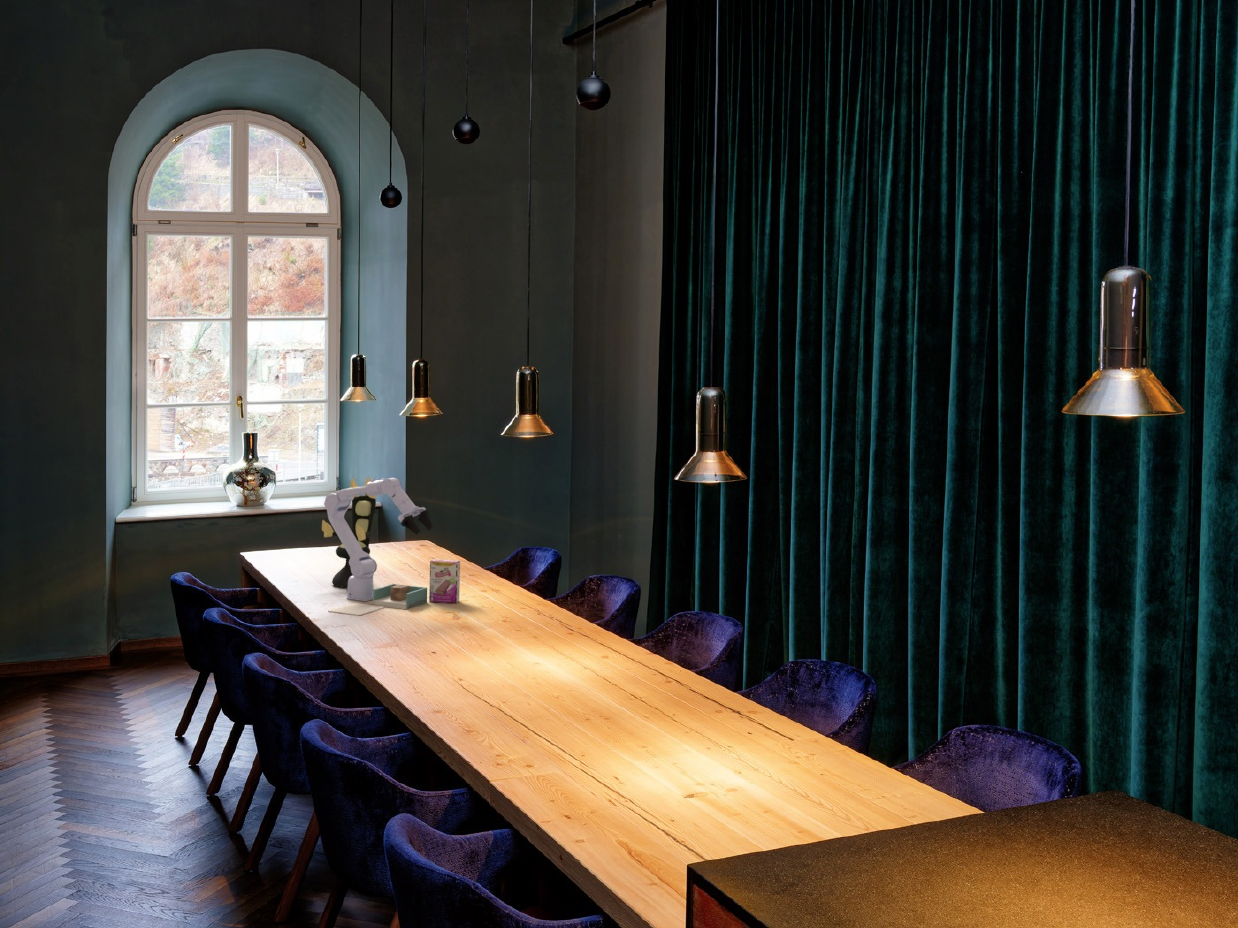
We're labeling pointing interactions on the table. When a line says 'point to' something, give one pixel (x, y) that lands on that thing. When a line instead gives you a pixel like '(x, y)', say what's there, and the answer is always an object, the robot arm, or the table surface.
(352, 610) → the mat
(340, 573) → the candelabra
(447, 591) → the candy bar box
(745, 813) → the table surface
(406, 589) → the walnut block
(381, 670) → the table surface
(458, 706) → the table surface
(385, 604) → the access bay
